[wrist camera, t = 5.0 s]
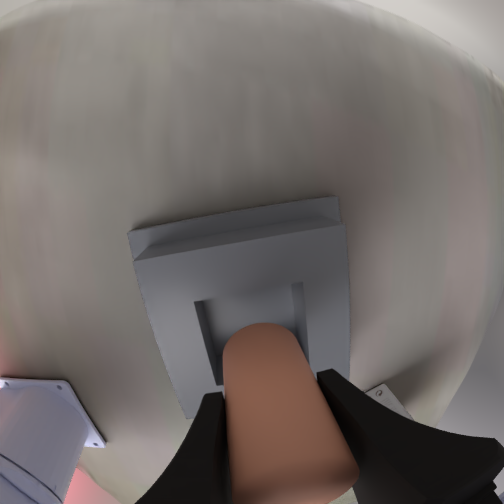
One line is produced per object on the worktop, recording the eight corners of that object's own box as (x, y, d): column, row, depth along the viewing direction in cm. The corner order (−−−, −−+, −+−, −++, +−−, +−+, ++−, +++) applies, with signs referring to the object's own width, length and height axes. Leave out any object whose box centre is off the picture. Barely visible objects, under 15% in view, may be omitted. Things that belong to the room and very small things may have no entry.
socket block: (180, 393, 19) (175, 430, 15) (131, 230, 16) (108, 244, 12) (342, 362, 20) (362, 393, 16) (332, 195, 17) (361, 200, 13)
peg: (234, 392, 13) (250, 522, 6) (212, 334, 12) (213, 478, 5) (304, 373, 13) (358, 494, 6) (292, 313, 12) (361, 440, 5)
